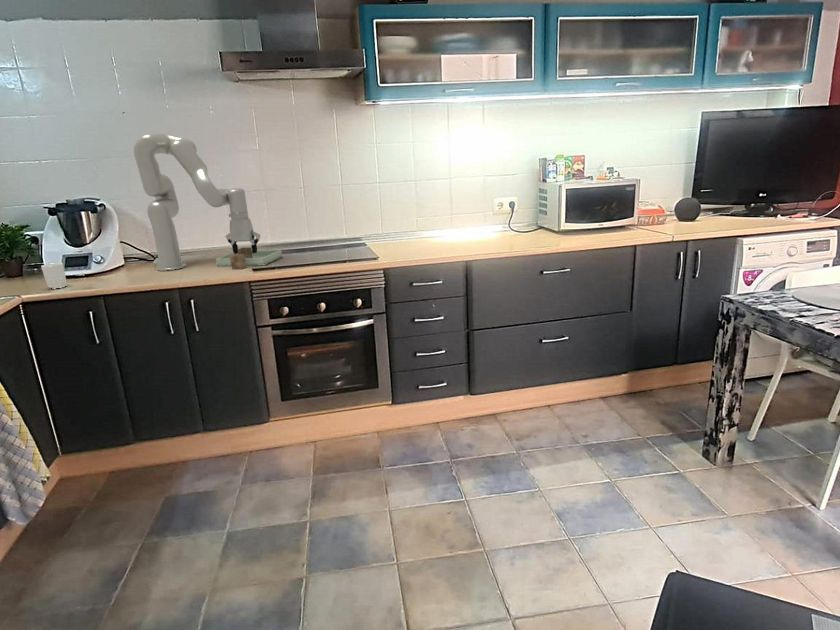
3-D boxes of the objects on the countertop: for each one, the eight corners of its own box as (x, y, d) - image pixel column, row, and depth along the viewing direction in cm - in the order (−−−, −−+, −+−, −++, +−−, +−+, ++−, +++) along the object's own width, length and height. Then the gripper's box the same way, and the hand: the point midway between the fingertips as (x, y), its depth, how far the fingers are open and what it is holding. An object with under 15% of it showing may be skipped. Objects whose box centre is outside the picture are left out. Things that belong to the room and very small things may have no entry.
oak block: (232, 269, 255) (229, 256, 253) (237, 267, 259) (235, 254, 258) (241, 269, 254) (238, 256, 252) (246, 267, 258) (244, 254, 256)
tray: (217, 266, 264) (215, 258, 263) (237, 258, 281) (236, 251, 280) (264, 265, 258) (262, 258, 257) (282, 257, 275) (281, 250, 274)
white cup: (42, 289, 239) (36, 266, 236) (59, 285, 246) (54, 262, 243) (55, 290, 237) (49, 266, 234) (72, 285, 244) (67, 262, 241)
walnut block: (239, 262, 265) (237, 249, 263) (244, 260, 269) (242, 247, 267) (248, 262, 264) (246, 249, 262) (253, 260, 268) (251, 247, 266)
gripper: (218, 217, 259) (224, 255, 264) (252, 216, 255) (258, 254, 260) (227, 215, 266) (233, 251, 271) (260, 214, 262) (266, 251, 267)
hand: (245, 253), depth 265 cm, fingers open, 9 cm apart
